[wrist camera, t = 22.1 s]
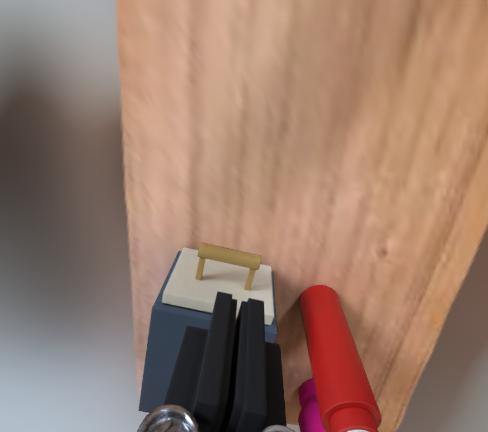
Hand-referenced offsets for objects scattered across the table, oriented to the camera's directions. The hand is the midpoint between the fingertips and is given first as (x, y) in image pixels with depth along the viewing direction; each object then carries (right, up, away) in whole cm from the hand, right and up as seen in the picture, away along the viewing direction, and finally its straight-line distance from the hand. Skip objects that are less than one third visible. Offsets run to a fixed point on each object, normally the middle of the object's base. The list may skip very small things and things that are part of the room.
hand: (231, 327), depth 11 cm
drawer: (-3, -5, +27) cm, 27 cm away
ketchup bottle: (+10, -7, +28) cm, 30 cm away
